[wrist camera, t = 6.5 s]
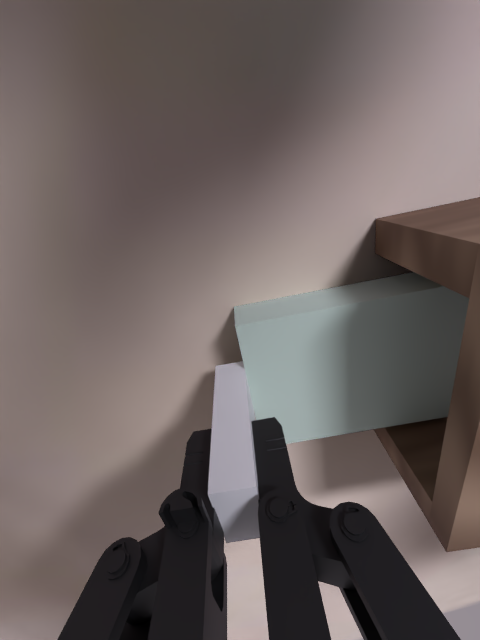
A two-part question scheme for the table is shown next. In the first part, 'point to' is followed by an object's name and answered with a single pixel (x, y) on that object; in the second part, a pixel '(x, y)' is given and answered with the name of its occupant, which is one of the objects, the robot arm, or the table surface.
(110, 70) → the table surface
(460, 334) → the board
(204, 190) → the table surface
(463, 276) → the tan notched block
